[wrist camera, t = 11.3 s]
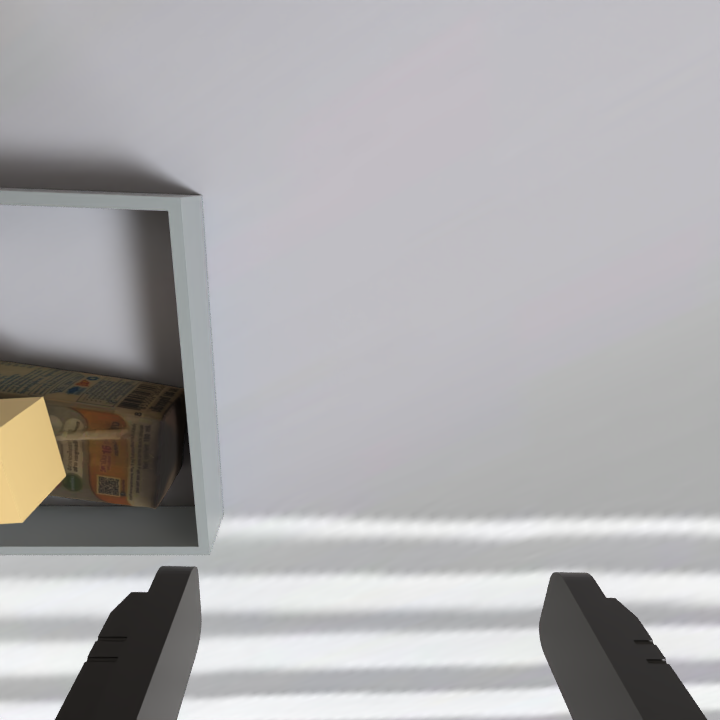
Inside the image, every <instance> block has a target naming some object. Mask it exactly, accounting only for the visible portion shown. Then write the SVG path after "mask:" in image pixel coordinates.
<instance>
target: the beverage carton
mask: <svg viewBox="0 0 720 720" xmlns="http://www.w3.org/2000/svg"><path fill="white" fill-rule="evenodd" d="M29 397H43V398H44V401H45V404H46V408H47V411H48V415H49V418H50V422H51V425H52V429H53V432H54V435H55V439H56V442H57V446H58V449H59V453H60V456H61V460H62V463H63V467H64V470H65V473H66V477H65V478H64V479H63V480H62V481H61V482H60V483H59V484H58V485H57V486H56V487H55V488H54V489H53V490H52V492H51V493H50V494H49V495H50V496H59V497H65V498H72V499H81V500H90V501H97V502H105V503H112V504H121V505H129V506H135V507H149V508H153V509H156V508H157V507H158V506H159V504H160V502H161V501H162V499H163V498H164V496H165V495H166V493H167V492H168V490H169V488H170V486H171V485H172V483H173V481H174V479H175V477H176V476H177V475H178V473H179V471H180V469H181V465H182V457H183V447H184V438H185V430H186V421H187V413H186V402H185V391H184V388H178V387H173V386H168V385H162V384H156V383H150V382H144V381H137V380H131V379H124V378H117V377H110V376H103V375H96V374H90V373H83V372H76V371H68V370H61V369H55V368H48V367H41V366H34V365H28V364H21V363H14V362H7V361H0V399H12V398H29Z"/></svg>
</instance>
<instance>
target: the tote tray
mask: <svg viewBox="0 0 720 720" xmlns="http://www.w3.org/2000/svg"><path fill="white" fill-rule="evenodd" d="M0 205H21V206H48V207H75V208H102V209H129V210H156V211H168V216H169V227H170V238H171V249H172V260H173V271H174V282H175V293H176V304H177V315H178V326H179V336H180V347H181V358H182V369H183V380H184V391H185V402H186V413H187V424H188V435H189V446H190V457H191V468H192V479H193V490H194V501H195V507H181V506H158V507H157V508H156V509H153V508H149V507H135V506H38V507H37V508H36V509H35V510H34V511H33V512H32V513H31V514H30V515H29V516H28V517H27V518H26V519H25V520H24V522H23V523H9V524H0V555H210V553H211V550H212V547H213V544H214V541H215V539H216V536H217V533H218V530H219V527H220V524H221V521H222V518H223V515H224V510H223V496H222V481H221V466H220V451H219V437H218V422H217V407H216V392H215V378H214V363H213V348H212V334H211V319H210V304H209V289H208V275H207V260H206V245H205V230H204V216H203V201H202V195H180V194H154V193H128V192H102V191H76V190H51V189H25V188H0Z"/></svg>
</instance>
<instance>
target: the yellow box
mask: <svg viewBox="0 0 720 720" xmlns="http://www.w3.org/2000/svg"><path fill="white" fill-rule="evenodd" d="M65 477H66V473H65V470H64V467H63V463H62V460H61V456H60V453H59V449H58V446H57V442H56V439H55V435H54V432H53V429H52V425H51V422H50V418H49V415H48V411H47V408H46V404H45V401H44V398H43V397H29V398H12V399H0V524H9V523H23V522H24V520H25V519H26V518H27V517H28V516H29V515H30V514H31V513H32V512H33V511H34V510H35V509H36V508H37V507H38V505H39V504H40V503H41V502H42V501H43V500H44V499H45V498H46V497H47V496H48V495H49V494H50V493H51V492H52V490H53V489H54V488H55V487H56V486H57V485H58V484H59V483H60V482H61V481H62V480H63V479H64V478H65Z"/></svg>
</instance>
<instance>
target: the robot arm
mask: <svg viewBox="0 0 720 720" xmlns="http://www.w3.org/2000/svg"><path fill="white" fill-rule="evenodd" d="M200 633H201V605H200V591H199V577H198V569H197V567H182V566H162V567H160V568H159V570H158V571H157V573H156V576H155V578H154V580H153V582H152V584H151V587H150V589H149V591H148V592H131V593H130V594H129V595H128V596H127V597H126V598H125V599H124V600H123V601H122V602H121V603H120V604H119V605H118V606H117V607H116V608H115V609H114V610H113V611H112V612H111V613H110V615H109V617H108V619H107V621H106V623H105V624H104V626H103V628H102V630H101V632H100V634H99V636H98V641H96V642H95V644H94V646H93V648H92V649H91V651H90V653H89V655H88V659H87V662H85V663H84V665H83V667H82V669H81V671H80V672H79V674H78V676H77V678H76V680H75V682H74V684H73V686H72V688H71V690H70V692H69V694H68V695H67V697H66V699H65V701H64V703H63V705H62V707H61V709H60V711H59V713H58V715H57V717H56V719H55V720H177V717H178V714H179V710H180V707H181V704H182V700H183V697H184V693H185V690H186V687H187V683H188V680H189V676H190V673H191V670H192V666H193V663H194V660H195V656H196V653H197V649H198V645H199V640H200ZM539 635H540V641H541V646H542V649H543V652H544V655H545V657H546V659H547V661H548V664H549V666H550V668H551V671H552V673H553V675H554V677H555V680H556V682H557V684H558V687H559V689H560V691H561V693H562V696H563V698H564V700H565V703H566V705H567V707H568V709H569V712H570V714H571V716H572V719H573V720H707V719H706V717H705V716H704V714H703V713H702V711H701V710H700V708H699V707H698V705H697V704H696V703H695V701H694V700H693V698H692V697H691V695H690V694H689V692H688V691H687V689H686V688H685V686H684V685H683V684H682V682H681V681H680V679H679V678H678V676H677V675H676V673H675V672H674V670H673V669H672V668H671V666H670V665H669V664H667V663H666V659H665V657H664V656H663V654H662V653H661V651H660V650H659V649H658V647H657V646H656V645H654V644H653V640H652V638H651V637H650V635H649V634H648V632H647V631H646V630H645V628H644V627H643V625H642V624H641V622H640V621H639V619H638V618H637V617H636V616H635V615H634V614H633V613H632V612H630V611H629V610H628V609H627V608H626V607H625V606H624V605H622V604H621V603H620V602H619V601H618V600H617V599H616V598H606V597H605V595H604V594H603V592H602V591H601V589H600V587H599V586H598V584H597V583H596V581H595V580H594V578H593V577H592V576H591V575H590V574H588V573H565V572H555V573H553V574H552V575H551V577H550V581H549V585H548V589H547V593H546V597H545V601H544V605H543V609H542V613H541V618H540V622H539Z"/></svg>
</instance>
